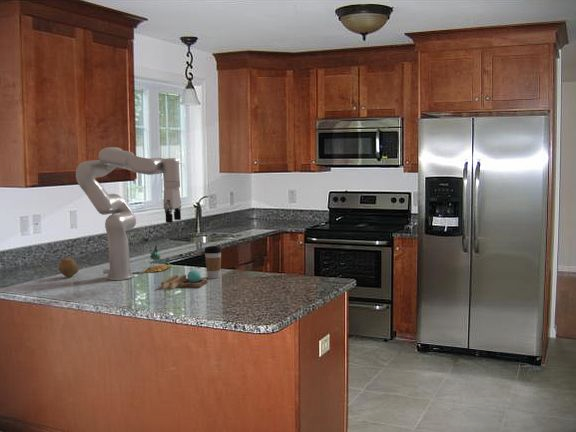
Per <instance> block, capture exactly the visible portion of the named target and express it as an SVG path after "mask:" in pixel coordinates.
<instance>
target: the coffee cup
mask: <svg viewBox="0 0 576 432" xmlns="http://www.w3.org/2000/svg"><path fill="white" fill-rule="evenodd" d="M203 252H204V256H205V257H204V259H205V266H206V273H207V278H208V279H209V280H210V279H214V278H215V279H219V278H221V265H222V249H221V246H218V245H210V246H205V247H204V251H203Z"/></svg>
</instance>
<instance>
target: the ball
mask: <svg viewBox="0 0 576 432" xmlns="http://www.w3.org/2000/svg"><path fill="white" fill-rule="evenodd" d="M201 275H202V274H201V273H200V271H198V270H196V269H192V270H190V271H189V272H188V273H187V279H188V280H189V281H190V282H191V283H197V282H199V281H200V279H202V278H201V277H202V276H201Z"/></svg>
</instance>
